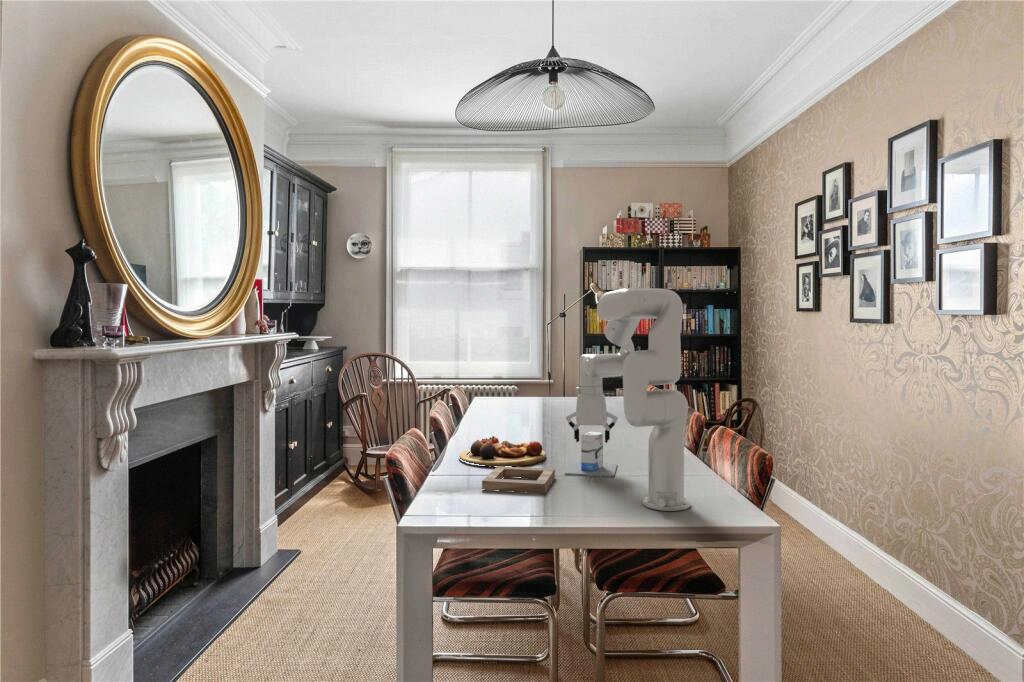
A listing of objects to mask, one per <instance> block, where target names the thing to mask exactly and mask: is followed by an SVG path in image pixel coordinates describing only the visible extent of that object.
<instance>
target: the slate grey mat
mask: <svg viewBox="0 0 1024 682" xmlns="http://www.w3.org/2000/svg"><path fill="white" fill-rule="evenodd" d="M617 468H618V464H617V463H605V462H603V467H601V468H599V469H598V470H596V471H585V470H581V461H580V462H577V461H576V462H575V461H571V462H570V463H569V465H568V467H567V468H566V470H565V471H564V475H565V474H567V475H566V476H580V475H585V476H587V477H602V476H605V477H606V478H607V477H609V478H613V477H615V475H616V470H617ZM605 477H604V478H605Z"/></svg>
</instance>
